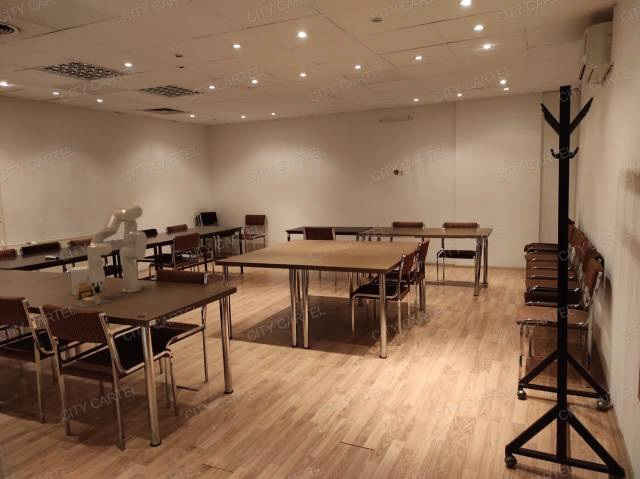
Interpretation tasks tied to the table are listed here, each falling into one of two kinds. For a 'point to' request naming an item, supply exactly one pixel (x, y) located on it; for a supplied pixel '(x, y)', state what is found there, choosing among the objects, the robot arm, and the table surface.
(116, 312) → the table surface
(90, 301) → the birch tile
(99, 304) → the rubber mat
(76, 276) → the supplement box
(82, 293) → the ammunition clip
